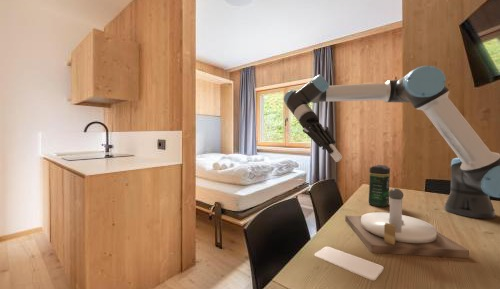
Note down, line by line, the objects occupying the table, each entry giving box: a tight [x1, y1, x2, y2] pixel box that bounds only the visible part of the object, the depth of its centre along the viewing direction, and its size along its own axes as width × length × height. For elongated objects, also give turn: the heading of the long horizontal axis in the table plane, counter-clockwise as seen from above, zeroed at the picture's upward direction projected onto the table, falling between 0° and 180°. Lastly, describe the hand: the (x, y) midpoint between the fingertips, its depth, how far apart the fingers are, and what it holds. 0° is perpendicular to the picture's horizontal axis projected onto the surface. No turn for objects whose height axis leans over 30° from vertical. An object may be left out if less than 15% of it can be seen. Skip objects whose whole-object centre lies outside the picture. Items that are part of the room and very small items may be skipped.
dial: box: [360, 187, 438, 243], centre depth 72 cm, size 20×20×14 cm
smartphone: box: [314, 246, 384, 281], centre depth 57 cm, size 7×1×15 cm
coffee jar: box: [368, 164, 391, 208], centre depth 107 cm, size 10×8×19 cm
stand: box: [344, 215, 470, 259], centre depth 72 cm, size 24×24×7 cm
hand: (339, 159), depth 83 cm, fingers closed
